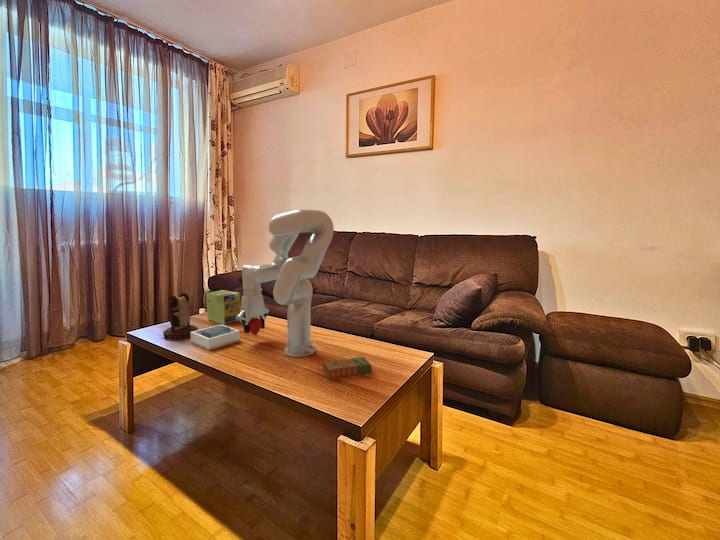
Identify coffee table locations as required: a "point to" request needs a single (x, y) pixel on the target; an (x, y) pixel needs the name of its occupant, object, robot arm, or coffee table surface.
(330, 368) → the carton
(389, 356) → the coffee table surface
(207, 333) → the block
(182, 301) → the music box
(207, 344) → the tote
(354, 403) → the coffee table surface
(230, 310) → the protein box
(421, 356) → the coffee table surface
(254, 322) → the strawberry
